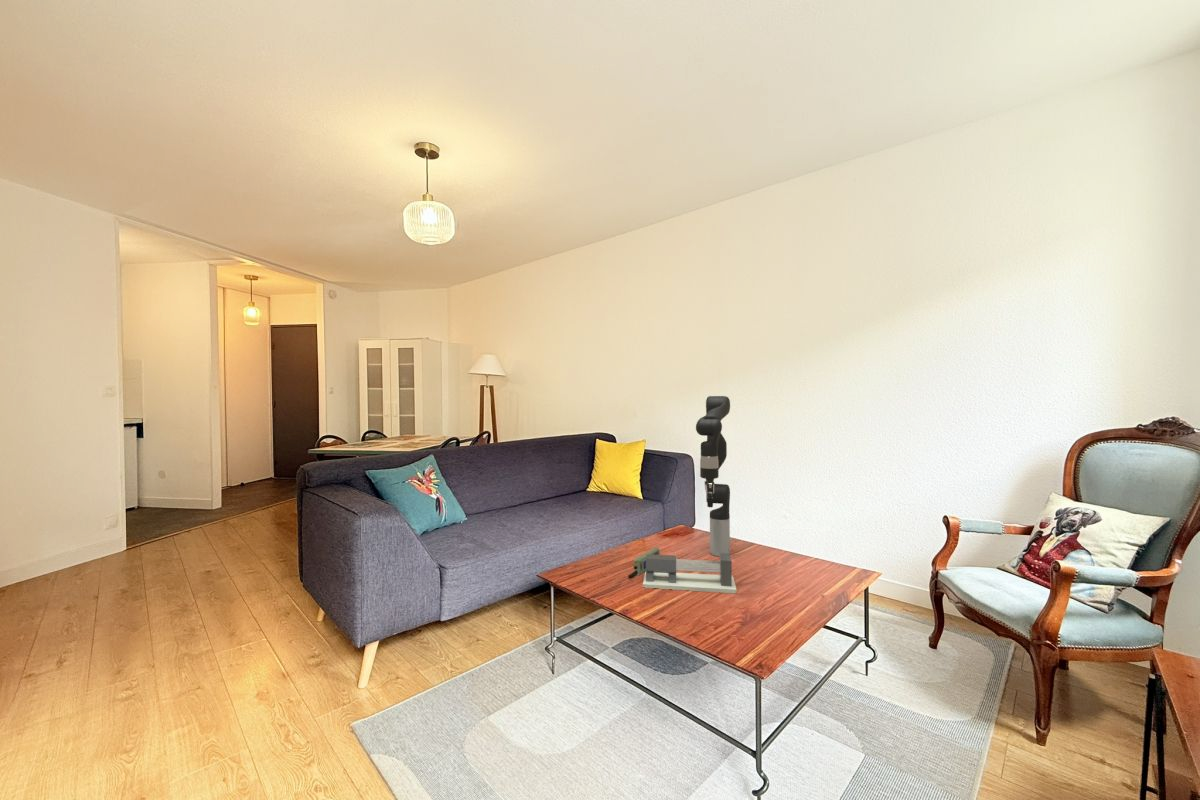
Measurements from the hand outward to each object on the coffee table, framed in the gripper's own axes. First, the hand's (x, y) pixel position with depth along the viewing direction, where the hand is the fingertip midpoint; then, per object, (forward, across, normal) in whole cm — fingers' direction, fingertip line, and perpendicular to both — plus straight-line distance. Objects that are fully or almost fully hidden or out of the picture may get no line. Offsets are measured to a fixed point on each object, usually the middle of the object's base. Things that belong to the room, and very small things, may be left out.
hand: (709, 504), depth 201 cm
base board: (+30, -10, +9) cm, 33 cm away
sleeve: (+28, -10, +20) cm, 36 cm away
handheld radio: (+30, +2, +28) cm, 41 cm away
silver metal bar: (+24, -10, +6) cm, 27 cm away
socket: (+28, -10, -6) cm, 31 cm away
